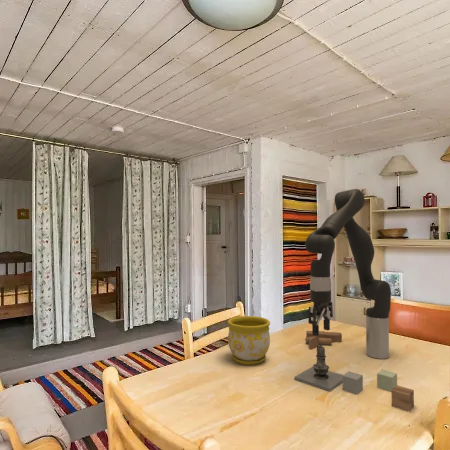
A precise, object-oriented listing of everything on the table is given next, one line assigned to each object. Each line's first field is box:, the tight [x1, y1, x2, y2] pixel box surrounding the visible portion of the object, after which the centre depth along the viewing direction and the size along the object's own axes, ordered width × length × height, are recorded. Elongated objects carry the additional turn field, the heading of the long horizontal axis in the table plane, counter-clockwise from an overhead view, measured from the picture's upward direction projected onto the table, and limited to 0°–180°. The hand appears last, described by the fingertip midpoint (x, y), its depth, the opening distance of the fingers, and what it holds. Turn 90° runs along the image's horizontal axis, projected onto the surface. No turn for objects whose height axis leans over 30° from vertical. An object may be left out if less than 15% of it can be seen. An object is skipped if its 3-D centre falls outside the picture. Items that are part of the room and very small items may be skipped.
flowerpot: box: [227, 315, 271, 366], centre depth 147 cm, size 18×18×16 cm
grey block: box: [342, 371, 364, 395], centre depth 119 cm, size 5×5×5 cm
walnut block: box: [391, 384, 415, 412], centre depth 108 cm, size 5×5×5 cm
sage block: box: [376, 369, 398, 393], centre depth 121 cm, size 5×5×5 cm
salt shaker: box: [312, 344, 330, 379], centre depth 128 cm, size 6×6×12 cm
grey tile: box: [293, 366, 344, 393], centre depth 127 cm, size 14×14×1 cm
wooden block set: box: [305, 330, 343, 350], centre depth 167 cm, size 17×6×18 cm
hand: (321, 332), depth 128 cm, fingers open, 8 cm apart
